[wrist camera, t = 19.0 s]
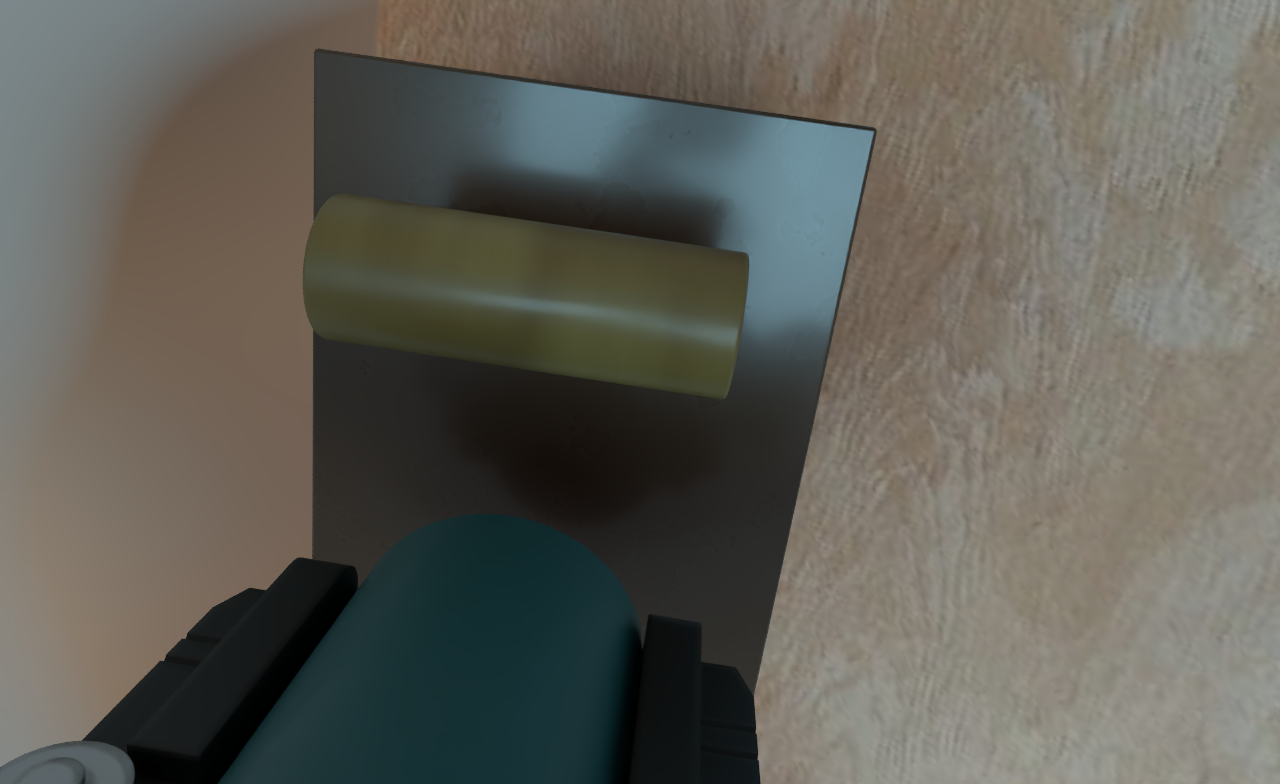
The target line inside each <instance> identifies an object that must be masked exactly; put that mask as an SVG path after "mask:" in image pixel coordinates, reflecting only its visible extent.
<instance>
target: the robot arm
mask: <svg viewBox="0 0 1280 784" xmlns="http://www.w3.org/2000/svg"><path fill="white" fill-rule="evenodd" d="M357 590H358V574H357V570H356V568H355V567H354V566H351V565H345V564H339V563H332V562H326V561H320V560H314V559H307V558H297V559H295V560H294V561H293V562H292V563H291V564H290V565H289V566H288V567H287V568H286V569H285V570H284V572H283V573H282V574H281V575H280V576H279V577H278V578H277V579H276V580H275V581H274V582H273V584H272V585H271V586H270V587H269V588H268V589H267V590H260V589H254V588H248V589H247V590H245V591H243V592H241V593H239V594H237V595H235V596H233V597H232V598H230V599H228V600H226V601H224V602H222V603H220V604H218V605H216V606H215V607H213V608H212V609H211V610H210V611H209V612H208V613H207V614H206V615H205V616H204V617H203V618H202V619H201V620H200V621H199V622H198V623H197V624H196V625H195V626H194V627H193V628H192V629H191V630H190V631H189V632H188V633H187V637H186V639H181V641H179V642H178V643H177V645H175V646H174V648H172V649H171V650H170V651H169V652H168V653H167V655H166V658H165V660H164V661H160V662H159V663H158V664H157V665H156V666H155V667H154V668H153V669H152V670H151V671H150V672H149V673H148V674H147V675H146V676H145V677H144V678H143V679H142V680H141V681H140V682H139V683H138V684H137V685H136V686H135V687H134V688H133V689H132V690H131V691H130V692H129V693H128V694H127V695H126V696H125V697H124V698H123V699H122V700H121V701H120V702H119V703H118V704H117V705H116V706H115V707H114V708H113V709H112V710H111V711H110V713H108V715H107V716H106V717H105V718H104V719H103V720H102V721H101V722H100V723H99V724H98V725H97V726H96V727H95V728H94V729H93V730H92V731H91V732H90V733H89V734H88V735H87V736H86V737H85V738H84V739H83V740H82V741H73V742H65V743H59V744H54V745H51V746H47V747H44V748H40V749H37V750H34V751H32V752H29V753H26V754H24V755H22V756H20V757H18V758H16V759H14V760H12V761H10V762H8V763H7V764H5V765H3V766H2V767H0V784H218V782H219V781H220V779H221V778H222V777H223V775H224V774H225V773H226V771H227V770H228V768H229V767H230V766H231V764H232V763H233V761H234V760H235V759H236V757H237V756H238V755H239V753H240V752H241V750H242V749H243V748H244V746H245V745H246V743H247V742H248V741H249V739H250V738H251V737H252V735H253V734H254V732H255V731H256V730H257V728H258V727H259V725H260V724H261V723H262V721H263V720H264V719H265V717H266V716H267V714H268V713H269V712H270V710H271V709H272V707H273V706H274V705H275V703H276V702H277V701H278V699H279V698H280V696H281V695H282V694H283V692H284V691H285V689H286V688H287V687H288V685H289V684H290V683H291V681H292V680H293V678H294V677H295V676H296V674H297V673H298V671H299V670H300V669H301V667H302V666H303V665H304V663H305V662H306V660H307V659H308V658H309V656H310V655H311V653H312V652H313V651H314V649H315V648H316V647H317V645H318V644H319V642H320V641H321V640H322V638H323V637H324V635H325V634H326V633H327V631H328V630H329V629H330V627H331V626H332V624H333V623H334V622H335V620H336V619H337V617H338V616H339V615H340V613H341V612H342V611H343V609H344V608H345V606H346V605H347V604H348V602H349V601H350V599H351V598H352V597H353V595H354V594H355V593H356V591H357ZM701 646H702V624H701V622H696V621H689V620H683V619H677V618H671V617H665V616H658V615H652V614H649V615H648V620H647V626H646V632H645V638H644V644H643V650H642V659H641V667H640V675H639V683H638V692H637V700H636V708H635V716H634V725H633V733H632V741H631V749H630V758H629V766H628V774H627V782H626V784H760V772H759V760H757V759H758V746H757V734H756V720H755V706H754V696H753V694H752V693H751V691H750V689H749V688H748V686H747V685H746V683H745V681H744V680H743V678H742V676H741V675H740V673H739V671H738V670H737V668H736V667H731V666H725V665H719V664H713V663H707V662H701Z"/></svg>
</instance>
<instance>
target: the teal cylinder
mask: <svg viewBox="0 0 1280 784" xmlns="http://www.w3.org/2000/svg"><path fill="white" fill-rule="evenodd" d="M642 650H643V640H642V632H641V628H640V623H639V619H638V616H637V614H636V611H635V609H634V606H633V603H632V601H631V599H630V598H629V596H628V594H627V592H626V590H625V589H624V587H623V585H622V584H621V583H620V581H619V580H618V579H617V577H616V576H615V575H614V573H613V572H612V571H611V570H610V569H609V567H608V566H607V565H606V564H605V563H604V562H603V561H602V560H601V559H600V558H599V557H598V556H596V555H595V554H594V553H593V552H592V551H590V550H589V549H588V548H587V547H585V546H584V545H583V544H581V543H580V542H578V541H576V540H575V539H573V538H572V537H570V536H568V535H567V534H565V533H562V532H560V531H558V530H556V529H554V528H552V527H550V526H547V525H544V524H541V523H538V522H536V521H533V520H529V519H525V518H520V517H515V516H510V515H500V514H470V515H463V516H456V517H451V518H447V519H444V520H440V521H437V522H433V523H431V524H429V525H426V526H424V527H422V528H419V529H417V530H415V531H414V532H412V533H410V534H409V535H407V536H405V537H404V538H402V539H401V540H400V541H398V542H397V543H396V544H395V545H394V546H392V547H391V548H390V549H389V550H388V551H387V552H386V553H385V554H384V555H383V556H382V558H381V559H380V560H379V561H378V562H377V563H376V565H375V566H374V568H373V569H372V570H371V572H370V573H369V575H368V576H367V577H366V579H365V580H364V581H363V583H362V584H361V586H360V587H359V588H358V590H357V591H356V593H355V594H354V595H353V597H352V598H351V599H350V601H349V602H348V604H347V605H346V606H345V608H344V609H343V611H342V612H341V613H340V615H339V616H338V617H337V619H336V620H335V622H334V623H333V624H332V626H331V627H330V629H329V630H328V631H327V633H326V634H325V635H324V637H323V638H322V640H321V641H320V642H319V644H318V645H317V647H316V648H315V649H314V651H313V652H312V653H311V655H310V656H309V658H308V659H307V660H306V662H305V663H304V665H303V666H302V667H301V669H300V670H299V671H298V673H297V674H296V676H295V677H294V678H293V680H292V681H291V683H290V684H289V685H288V687H287V688H286V689H285V691H284V692H283V694H282V695H281V696H280V698H279V699H278V701H277V702H276V703H275V705H274V706H273V707H272V709H271V710H270V712H269V713H268V714H267V716H266V717H265V719H264V720H263V721H262V723H261V724H260V725H259V727H258V728H257V730H256V731H255V732H254V734H253V735H252V737H251V738H250V739H249V741H248V742H247V743H246V745H245V746H244V748H243V749H242V750H241V752H240V753H239V755H238V756H237V757H236V759H235V760H234V761H233V763H232V764H231V766H230V767H229V768H228V770H227V771H226V773H225V774H224V775H223V777H222V778H221V779H220V781H219V782H218V784H626V782H627V774H628V766H629V758H630V749H631V741H632V733H633V725H634V716H635V708H636V700H637V692H638V683H639V675H640V667H641V659H642Z"/></svg>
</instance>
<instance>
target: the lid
mask: <svg viewBox="0 0 1280 784" xmlns="http://www.w3.org/2000/svg"><path fill="white" fill-rule="evenodd" d="M876 134H877V130H876V129H875V128H874V127H867V126H860V125H853V124H845V123H838V122H831V121H824V120H817V119H810V118H803V117H796V116H789V115H782V114H775V113H768V112H761V111H754V110H747V109H740V108H733V107H726V106H719V105H712V104H705V103H698V102H691V101H683V100H676V99H669V98H662V97H655V96H648V95H641V94H634V93H627V92H620V91H613V90H606V89H599V88H592V87H585V86H578V85H571V84H564V83H557V82H550V81H543V80H536V79H529V78H521V77H514V76H507V75H500V74H493V73H486V72H479V71H472V70H465V69H458V68H451V67H444V66H437V65H430V64H423V63H416V62H409V61H402V60H395V59H388V58H381V57H374V56H366V55H359V54H352V53H345V52H338V51H331V50H324V49H316V50H315V52H314V222H313V225H312V228H311V231H310V234H309V238H308V241H307V246H306V252H305V258H304V267H303V295H304V303H305V308H306V312H307V316H308V319H309V322H310V323H311V326H312V328H313V533H312V535H313V538H312V546H313V547H312V548H313V550H312V557H313V559H314V560H320V561H326V562H332V563H339V564H345V565H351V566H354V567H355V568H356V570H357V574H358V588H359V587H360V586H361V584H362V583H363V581H364V580H365V579H366V577H367V576H368V575H369V573H370V572H371V570H372V569H373V568H374V566H375V565H376V563H377V562H378V561H379V560H380V559H381V558H382V556H383V555H384V554H385V553H386V552H387V551H388V550H389V549H390V548H391V547H392V546H394V545H395V544H396V543H397V542H398V541H400V540H401V539H402V538H404V537H405V536H407V535H409V534H410V533H412V532H414V531H415V530H417V529H419V528H422V527H424V526H426V525H429V524H431V523H433V522H437V521H440V520H444V519H447V518H451V517H456V516H463V515H470V514H500V515H510V516H515V517H520V518H525V519H529V520H533V521H536V522H538V523H541V524H544V525H547V526H550V527H552V528H554V529H556V530H558V531H560V532H562V533H565V534H567V535H568V536H570V537H572V538H573V539H575V540H576V541H578V542H580V543H581V544H583V545H584V546H585V547H587V548H588V549H589V550H590V551H592V552H593V553H594V554H595V555H596V556H598V557H599V558H600V559H601V560H602V561H603V562H604V563H605V564H606V565H607V566H608V567H609V569H610V570H611V571H612V572H613V573H614V575H615V576H616V577H617V579H618V580H619V581H620V583H621V584H622V585H623V587H624V589H625V590H626V592H627V594H628V596H629V598H630V599H631V601H632V603H633V606H634V609H635V611H636V614H637V616H638V619H639V623H640V628H641V632H642V640H643V644H644V638H645V632H646V626H647V620H648V615H649V614H652V615H658V616H665V617H671V618H677V619H683V620H689V621H696V622H701V624H702V646H701V662H707V663H713V664H719V665H725V666H731V667H736V668H737V670H738V671H739V673H740V675H741V676H742V678H743V680H744V681H745V683H746V685H747V686H748V688H749V689H750V691H751V693H752V694H753V696H754V693H755V688H756V684H757V679H758V674H759V670H760V665H761V661H762V656H763V652H764V647H765V642H766V638H767V633H768V629H769V624H770V619H771V615H772V610H773V606H774V601H775V597H776V592H777V587H778V583H779V578H780V574H781V569H782V565H783V560H784V555H785V551H786V546H787V542H788V537H789V532H790V528H791V523H792V519H793V514H794V510H795V505H796V500H797V496H798V491H799V487H800V482H801V478H802V473H803V468H804V464H805V459H806V455H807V450H808V445H809V441H810V436H811V432H812V427H813V423H814V418H815V413H816V409H817V404H818V400H819V395H820V390H821V386H822V381H823V377H824V372H825V368H826V363H827V358H828V354H829V349H830V345H831V340H832V336H833V331H834V326H835V322H836V317H837V313H838V308H839V303H840V299H841V294H842V290H843V285H844V281H845V276H846V271H847V267H848V262H849V258H850V253H851V248H852V244H853V239H854V235H855V230H856V226H857V221H858V216H859V212H860V207H861V203H862V198H863V194H864V189H865V184H866V180H867V175H868V171H869V166H870V161H871V157H872V152H873V148H874V143H875V139H876Z"/></svg>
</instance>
